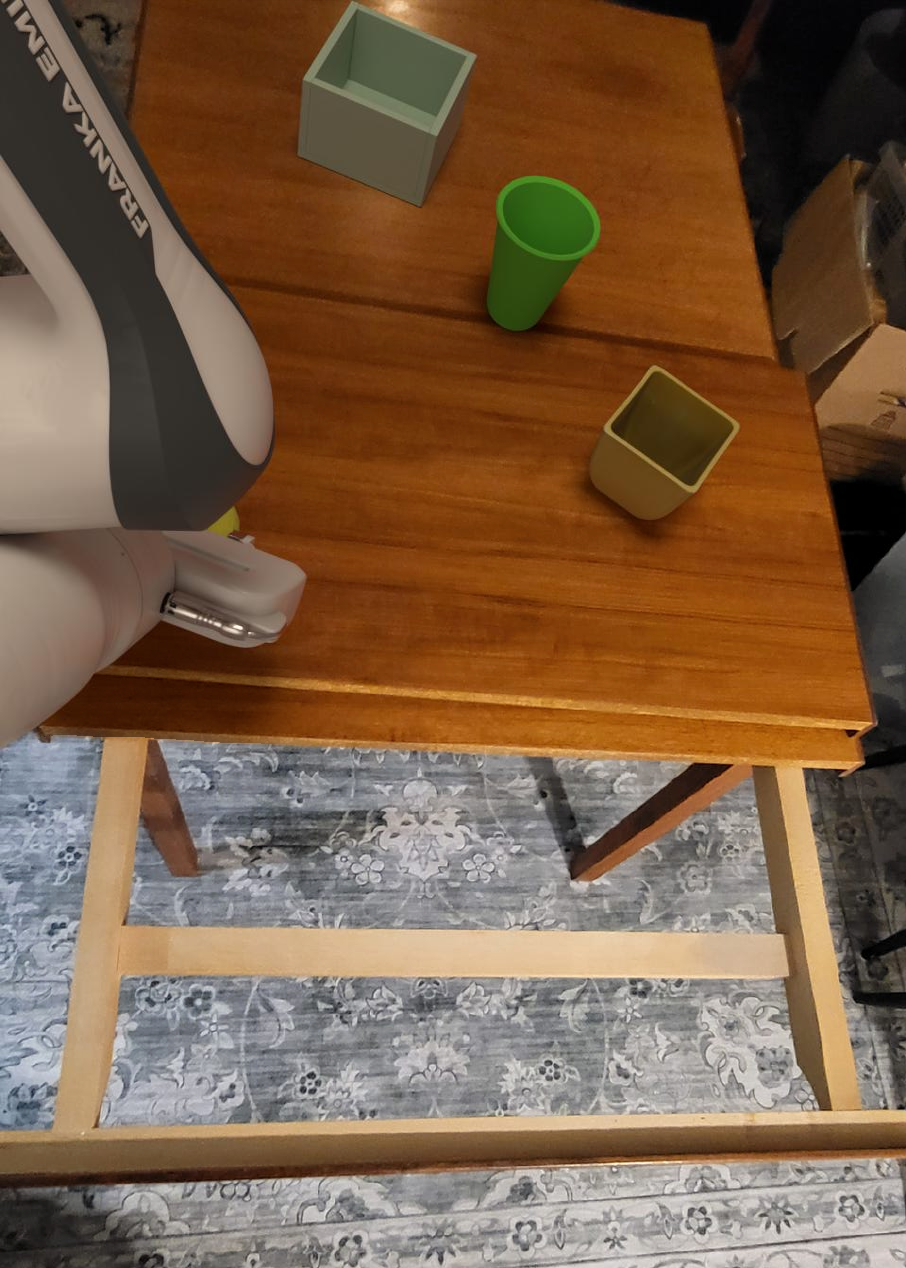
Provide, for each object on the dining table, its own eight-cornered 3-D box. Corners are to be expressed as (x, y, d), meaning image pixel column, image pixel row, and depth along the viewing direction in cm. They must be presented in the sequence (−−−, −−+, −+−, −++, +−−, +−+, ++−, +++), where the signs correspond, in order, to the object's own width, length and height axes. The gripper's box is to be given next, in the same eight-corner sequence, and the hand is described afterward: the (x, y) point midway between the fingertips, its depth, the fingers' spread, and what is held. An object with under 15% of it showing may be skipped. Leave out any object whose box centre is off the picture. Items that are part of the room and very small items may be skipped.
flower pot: (646, 549, 76) (694, 494, 68) (563, 489, 77) (602, 427, 69) (691, 484, 80) (743, 424, 72) (612, 427, 81) (654, 361, 73)
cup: (480, 352, 81) (515, 260, 71) (454, 274, 84) (483, 174, 74) (570, 345, 83) (615, 255, 73) (542, 270, 86) (581, 173, 76)
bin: (297, 155, 85) (302, 78, 78) (342, 78, 91) (351, -1, 84) (420, 207, 86) (437, 136, 79) (458, 128, 91) (477, 54, 84)
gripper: (290, 593, 45) (338, 532, 58) (-104, 442, 44) (36, 414, 57) (254, 699, 47) (309, 617, 60) (-123, 558, 46) (16, 505, 59)
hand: (174, 518), depth 59 cm, fingers open, 8 cm apart
